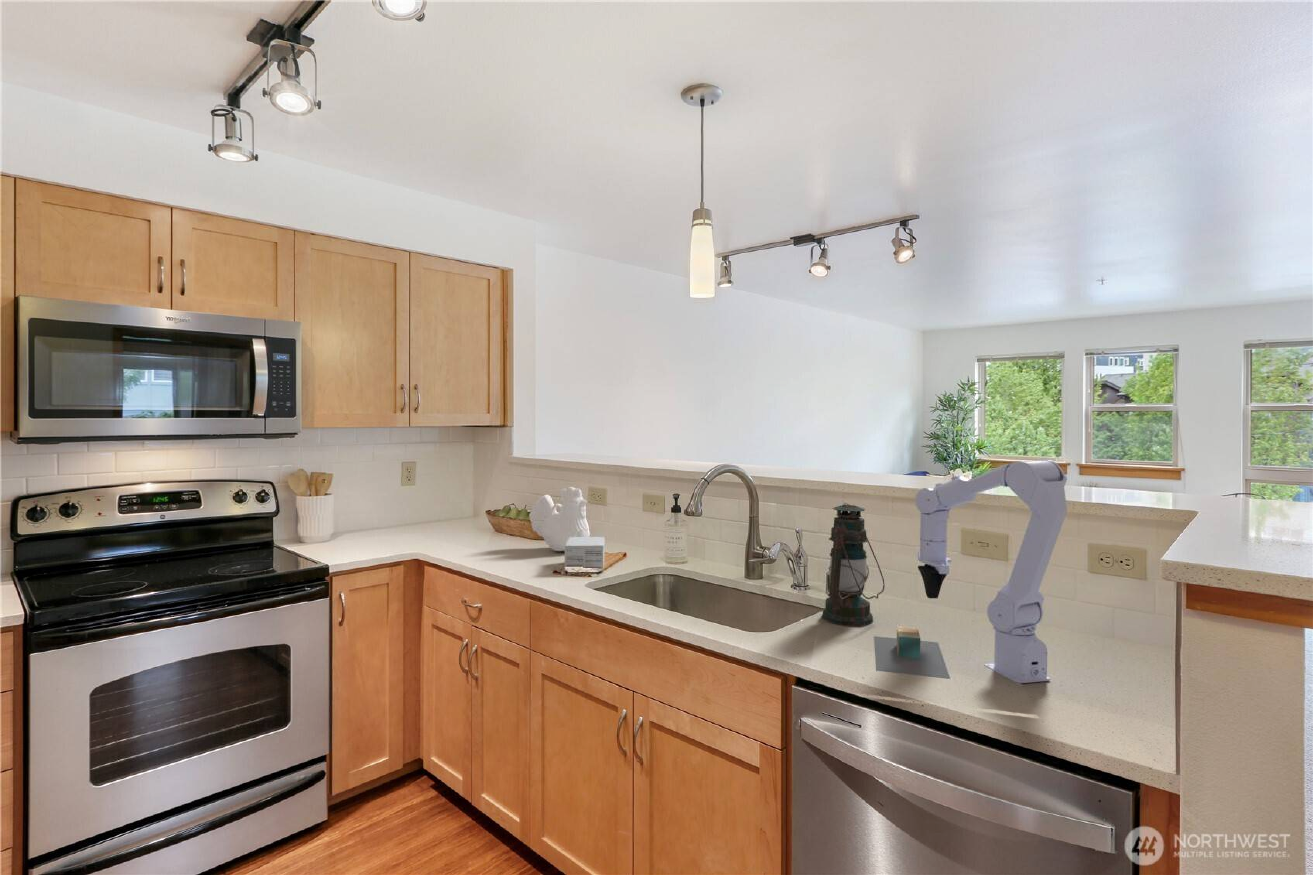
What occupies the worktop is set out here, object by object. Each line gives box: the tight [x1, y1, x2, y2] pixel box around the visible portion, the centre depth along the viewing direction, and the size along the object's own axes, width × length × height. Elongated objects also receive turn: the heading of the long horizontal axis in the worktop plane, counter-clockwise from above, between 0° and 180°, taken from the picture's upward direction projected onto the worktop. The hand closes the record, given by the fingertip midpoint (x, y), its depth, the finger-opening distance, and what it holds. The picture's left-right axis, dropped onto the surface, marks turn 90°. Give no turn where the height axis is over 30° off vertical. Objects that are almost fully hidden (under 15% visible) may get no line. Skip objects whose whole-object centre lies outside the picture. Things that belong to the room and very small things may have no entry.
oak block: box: [896, 625, 921, 659], centre depth 147 cm, size 4×4×8 cm
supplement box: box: [564, 536, 606, 571], centre depth 229 cm, size 17×13×9 cm
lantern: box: [821, 502, 886, 627], centre depth 172 cm, size 19×14×30 cm
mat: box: [873, 635, 951, 680], centre depth 145 cm, size 22×14×1 cm, turn 163°
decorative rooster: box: [528, 486, 591, 552], centre depth 259 cm, size 25×16×25 cm, turn 56°
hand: (932, 597), depth 155 cm, fingers closed
